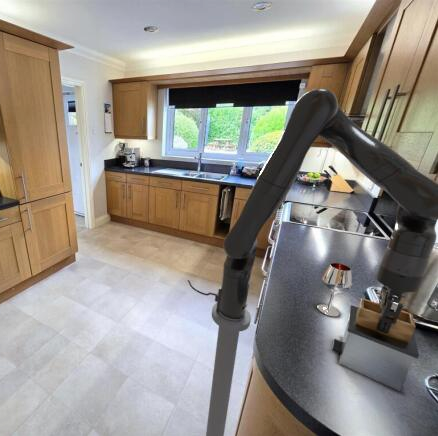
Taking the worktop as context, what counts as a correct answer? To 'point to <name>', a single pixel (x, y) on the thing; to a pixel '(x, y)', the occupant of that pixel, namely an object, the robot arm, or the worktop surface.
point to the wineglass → (335, 284)
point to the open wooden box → (370, 317)
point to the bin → (375, 353)
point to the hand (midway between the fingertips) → (381, 324)
